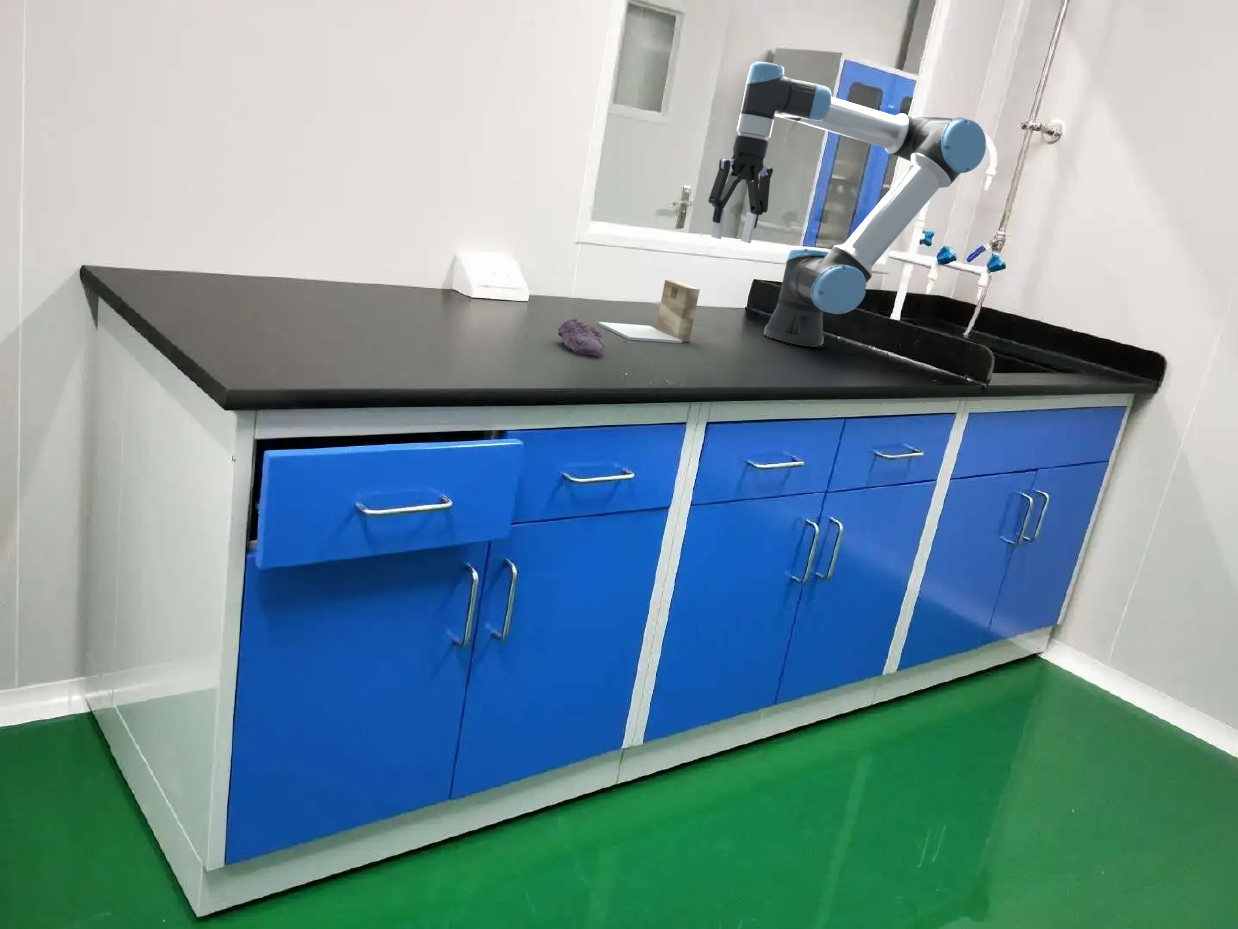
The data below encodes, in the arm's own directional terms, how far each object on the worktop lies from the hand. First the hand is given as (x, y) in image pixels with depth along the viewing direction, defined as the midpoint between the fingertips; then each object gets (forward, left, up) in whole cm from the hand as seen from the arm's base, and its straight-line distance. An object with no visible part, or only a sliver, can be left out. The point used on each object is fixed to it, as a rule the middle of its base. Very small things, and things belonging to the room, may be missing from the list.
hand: (731, 239), depth 231 cm
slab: (+11, 0, -23) cm, 26 cm away
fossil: (+45, +18, -24) cm, 54 cm away
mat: (+20, 0, -23) cm, 31 cm away
